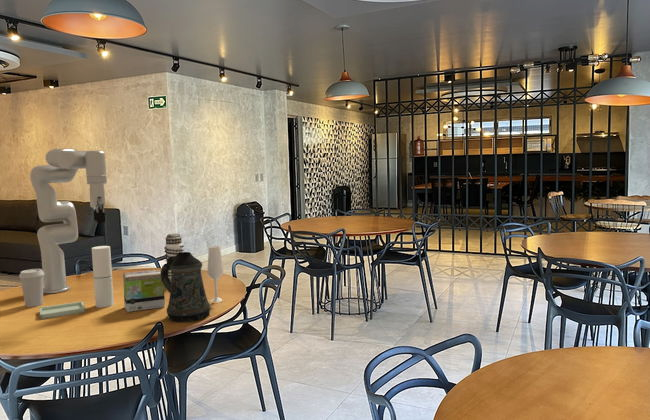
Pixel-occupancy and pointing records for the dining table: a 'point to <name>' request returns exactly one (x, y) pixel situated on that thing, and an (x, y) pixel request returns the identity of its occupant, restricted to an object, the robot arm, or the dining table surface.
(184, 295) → the beer stein
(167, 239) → the decorative candle
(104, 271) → the cylindrical container
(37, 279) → the coffee cup
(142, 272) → the tea box
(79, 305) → the tray
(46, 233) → the robot arm
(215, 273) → the champagne flute
